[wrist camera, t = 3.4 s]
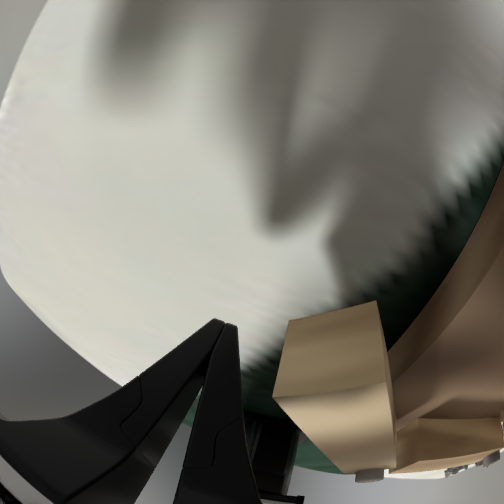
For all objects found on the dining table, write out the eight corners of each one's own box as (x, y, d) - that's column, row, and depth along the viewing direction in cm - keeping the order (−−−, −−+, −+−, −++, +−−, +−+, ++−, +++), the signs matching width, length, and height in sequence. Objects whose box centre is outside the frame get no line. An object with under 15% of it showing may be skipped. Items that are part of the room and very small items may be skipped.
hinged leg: (396, 427, 12) (395, 478, 9) (350, 434, 13) (345, 484, 10) (375, 300, 8) (387, 403, 5) (288, 320, 9) (267, 415, 6)
